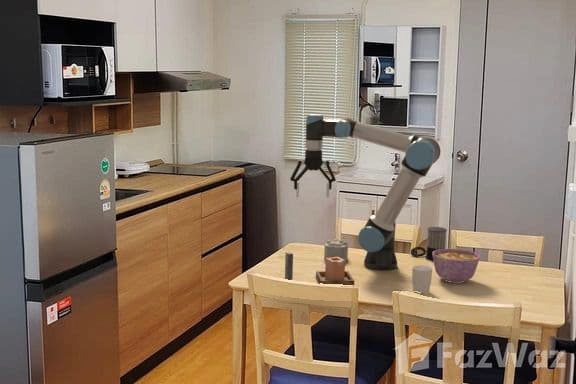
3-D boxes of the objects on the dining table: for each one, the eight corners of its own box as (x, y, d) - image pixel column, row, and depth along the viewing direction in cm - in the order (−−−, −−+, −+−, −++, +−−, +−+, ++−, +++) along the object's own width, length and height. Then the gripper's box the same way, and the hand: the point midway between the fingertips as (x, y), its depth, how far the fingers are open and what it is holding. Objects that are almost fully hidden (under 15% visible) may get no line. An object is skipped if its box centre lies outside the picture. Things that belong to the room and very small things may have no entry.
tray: (348, 276, 311) (348, 271, 310) (354, 286, 297) (354, 280, 297) (315, 276, 309) (316, 271, 309) (320, 286, 296) (320, 280, 295)
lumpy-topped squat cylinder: (322, 260, 336) (322, 242, 334) (329, 253, 348) (329, 236, 346) (343, 262, 333) (344, 244, 331) (350, 256, 345) (350, 238, 343)
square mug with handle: (337, 277, 307) (338, 256, 306) (346, 282, 300) (347, 261, 299) (325, 278, 305) (325, 258, 303) (333, 283, 298) (334, 262, 296)
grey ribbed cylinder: (446, 262, 338) (448, 231, 335) (413, 261, 338) (414, 230, 336) (441, 254, 352) (443, 224, 349) (409, 253, 352) (410, 223, 350)
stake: (290, 277, 308) (290, 252, 306) (292, 278, 306) (293, 253, 304) (284, 277, 307) (285, 252, 305) (287, 279, 305) (288, 254, 303)
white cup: (430, 295, 287) (432, 271, 286) (410, 293, 289) (412, 269, 287) (430, 289, 295) (432, 266, 293) (411, 288, 297) (412, 264, 295)
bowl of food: (447, 271, 323) (449, 246, 321) (487, 281, 309) (489, 255, 307) (421, 279, 309) (422, 253, 307) (461, 290, 295) (463, 263, 293)
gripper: (340, 148, 323) (338, 195, 326) (284, 148, 320) (283, 194, 324) (343, 150, 315) (341, 198, 319) (286, 150, 313) (285, 197, 317)
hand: (312, 196), depth 322 cm, fingers open, 13 cm apart
